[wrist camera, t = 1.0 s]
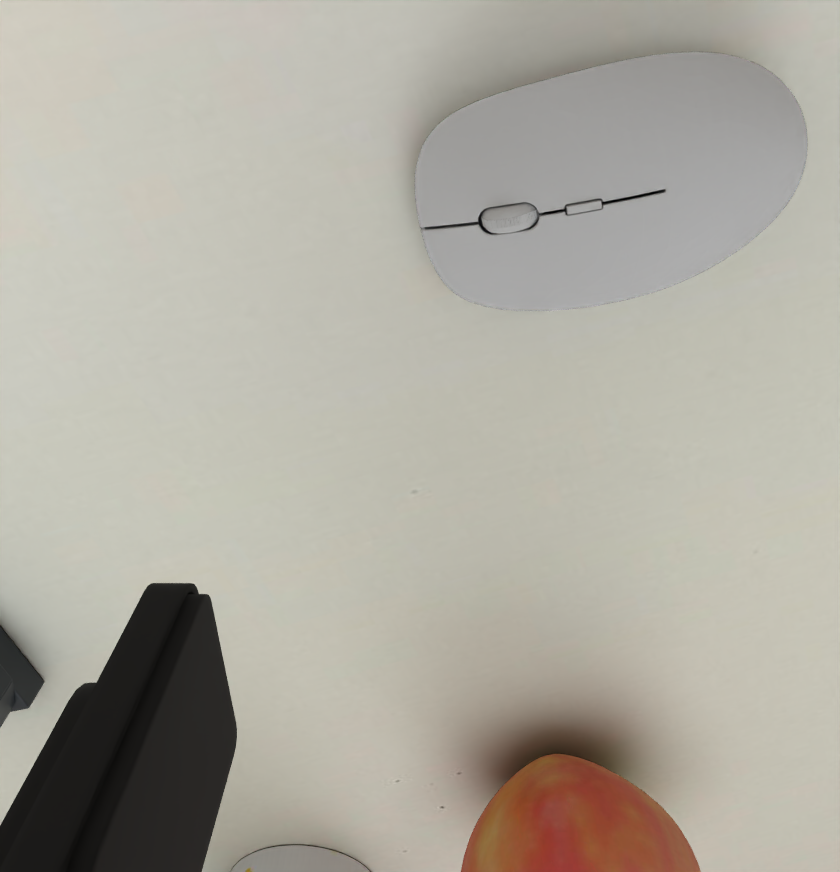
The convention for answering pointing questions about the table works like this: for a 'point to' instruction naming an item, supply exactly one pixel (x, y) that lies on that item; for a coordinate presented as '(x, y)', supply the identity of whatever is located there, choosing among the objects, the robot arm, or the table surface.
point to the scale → (15, 679)
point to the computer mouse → (607, 180)
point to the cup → (298, 860)
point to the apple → (575, 824)
